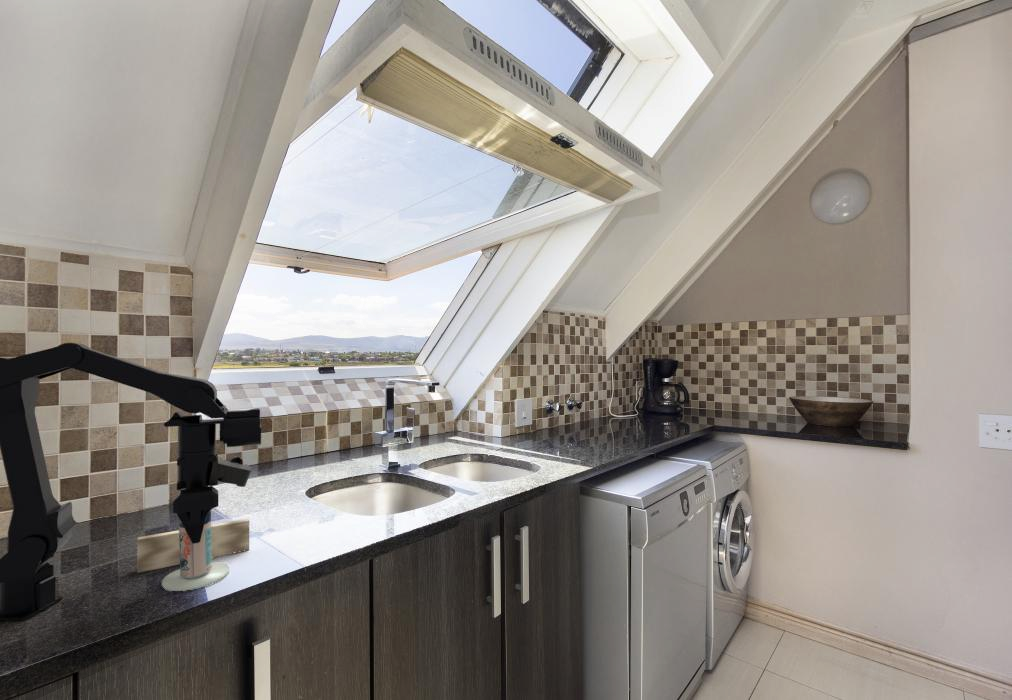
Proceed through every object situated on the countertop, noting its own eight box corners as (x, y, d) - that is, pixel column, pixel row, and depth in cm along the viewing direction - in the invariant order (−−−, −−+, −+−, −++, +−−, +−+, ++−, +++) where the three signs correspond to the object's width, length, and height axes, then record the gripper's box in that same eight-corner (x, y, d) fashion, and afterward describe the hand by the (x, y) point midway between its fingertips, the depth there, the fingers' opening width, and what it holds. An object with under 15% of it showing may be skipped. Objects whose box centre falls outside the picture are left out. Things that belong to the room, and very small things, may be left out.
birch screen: (137, 572, 86) (137, 539, 86) (138, 569, 87) (138, 537, 87) (249, 550, 96) (249, 520, 96) (248, 547, 97) (248, 518, 97)
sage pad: (147, 591, 79) (147, 588, 79) (187, 565, 89) (187, 562, 89) (206, 591, 79) (206, 588, 79) (240, 565, 89) (240, 561, 89)
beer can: (177, 574, 84) (176, 506, 84) (208, 565, 87) (207, 500, 87) (182, 583, 80) (181, 513, 80) (214, 573, 84) (213, 506, 84)
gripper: (252, 453, 81) (252, 545, 80) (244, 437, 96) (244, 514, 96) (173, 461, 75) (172, 560, 74) (178, 443, 90) (177, 525, 90)
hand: (196, 537), depth 84 cm, fingers open, 6 cm apart
